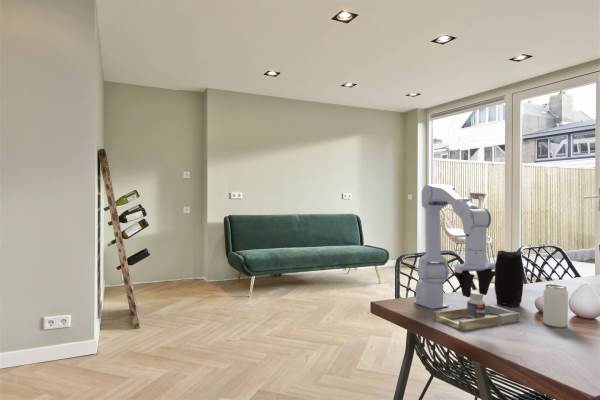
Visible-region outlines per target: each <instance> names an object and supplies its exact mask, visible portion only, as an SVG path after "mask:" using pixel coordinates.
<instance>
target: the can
mask: <svg viewBox="0 0 600 400" xmlns="http://www.w3.org/2000/svg"><path fill="white" fill-rule="evenodd" d="M542 302H543V305H542V306H543V308H542V312H543V313H542V323H544V325H546V326H549V327H551V328H558V329H559V328H561V329H563V328H567V326H568V320H569V316H568V314H569V312H568V311H569V291H568V290H567V287H566V286H564V285H560V284H545V287H544V289H543V301H542Z"/></svg>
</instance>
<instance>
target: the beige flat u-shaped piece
mask: <svg viewBox="0 0 600 400" xmlns="http://www.w3.org/2000/svg"><path fill="white" fill-rule="evenodd" d="M462 317H464V318H465V317H467V306H465V307H464V306H463V307H458V308H457V307H456V308H450V309H442V310H436V311H433V320H435V321H437V322H440V323H442V324H445V325H447V326H450V327H453V328H455V329H458V330H460V331H470V330H473V329H474V330H475V329H476V330H477V329H480V328H486V327H492V326H493V327H494V326H498V325H499V324H500V323H499V316H498V315H494V314H492V315H487V316H486V315H485V317H480V318H474V319H463V320H462V319H461V320H458V321H455V320H452V319H456V318H462Z"/></svg>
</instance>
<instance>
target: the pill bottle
mask: <svg viewBox="0 0 600 400" xmlns="http://www.w3.org/2000/svg"><path fill="white" fill-rule="evenodd" d="M485 304H486V302H485V300H484V295H483V294H480V293H479V291H475V290H474V291H473V290H471V294H470V297H468V299H467V304H466V305H467V306H466V307H467V316H466V320H468V319H474V318H480V317H486V313H485Z"/></svg>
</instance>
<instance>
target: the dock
mask: <svg viewBox="0 0 600 400" xmlns="http://www.w3.org/2000/svg"><path fill="white" fill-rule="evenodd" d="M485 314H492V315H496V316H499V324H501V325H503V324H509V323H514V322H519V321H520V312H518V311H517V312H516V311H514V310H510V309H507V308H504V307H500V306H497V305H493V304H489V303H485Z"/></svg>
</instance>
